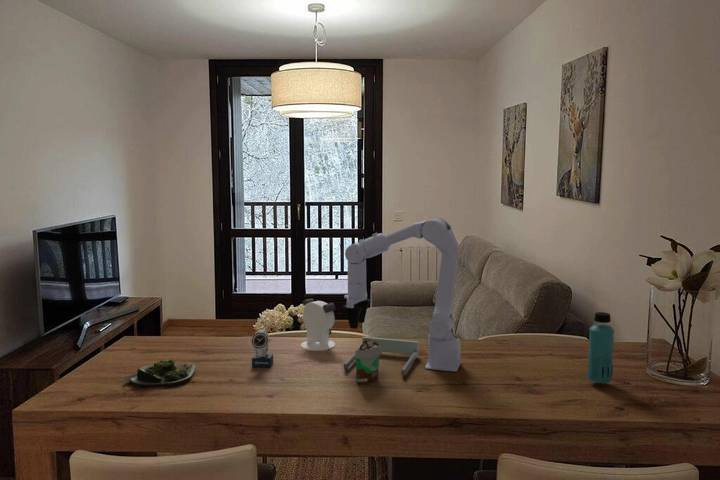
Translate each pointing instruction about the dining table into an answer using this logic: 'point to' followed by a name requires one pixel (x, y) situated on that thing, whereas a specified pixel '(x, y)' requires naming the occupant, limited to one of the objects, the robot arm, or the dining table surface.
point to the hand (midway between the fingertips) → (357, 325)
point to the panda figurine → (318, 325)
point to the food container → (367, 361)
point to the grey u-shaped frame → (393, 351)
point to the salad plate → (162, 374)
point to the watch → (261, 350)
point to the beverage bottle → (601, 350)
